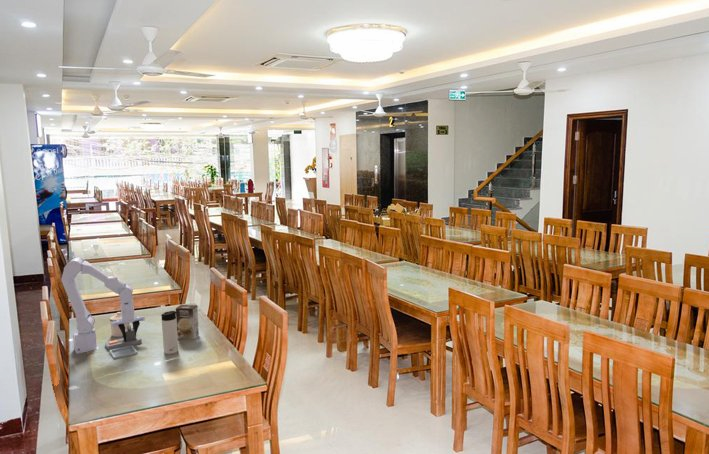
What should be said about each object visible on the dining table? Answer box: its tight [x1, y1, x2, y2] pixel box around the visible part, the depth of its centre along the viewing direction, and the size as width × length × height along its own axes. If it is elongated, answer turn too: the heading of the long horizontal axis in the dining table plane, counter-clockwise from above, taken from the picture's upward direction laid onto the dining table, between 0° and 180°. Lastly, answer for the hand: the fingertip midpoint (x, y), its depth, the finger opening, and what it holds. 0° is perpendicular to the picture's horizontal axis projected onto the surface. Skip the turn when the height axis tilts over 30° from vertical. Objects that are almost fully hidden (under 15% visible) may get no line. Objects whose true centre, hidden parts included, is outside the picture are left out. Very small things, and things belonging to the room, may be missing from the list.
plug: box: [125, 324, 135, 342], centre depth 244 cm, size 4×4×8 cm
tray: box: [108, 345, 139, 360], centre depth 233 cm, size 10×10×2 cm
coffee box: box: [175, 304, 200, 340], centre depth 252 cm, size 9×6×16 cm
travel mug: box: [161, 310, 179, 356], centre depth 232 cm, size 6×7×20 cm
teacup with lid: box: [109, 311, 130, 338], centre depth 260 cm, size 12×9×12 cm
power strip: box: [104, 334, 143, 351], centre depth 243 cm, size 15×7×3 cm, turn 126°
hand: (129, 337), depth 245 cm, fingers closed on plug, 4 cm apart
